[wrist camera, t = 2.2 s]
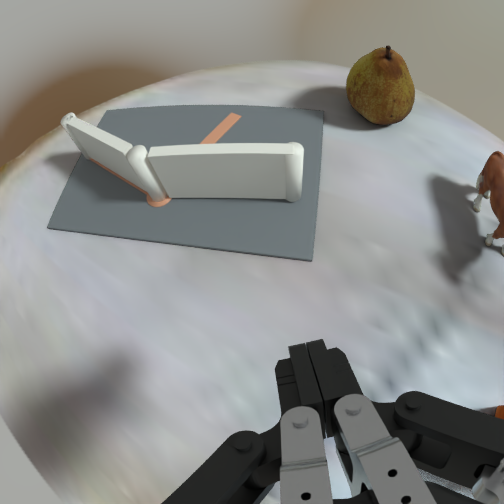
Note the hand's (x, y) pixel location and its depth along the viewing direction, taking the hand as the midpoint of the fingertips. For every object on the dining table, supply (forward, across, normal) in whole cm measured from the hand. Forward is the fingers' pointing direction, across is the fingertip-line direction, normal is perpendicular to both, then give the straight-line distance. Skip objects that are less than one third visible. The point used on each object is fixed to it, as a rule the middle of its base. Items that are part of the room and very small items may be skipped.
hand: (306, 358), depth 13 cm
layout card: (+28, +8, -8) cm, 30 cm away
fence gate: (+23, +3, -4) cm, 23 cm away
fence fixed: (+28, +16, -9) cm, 33 cm away
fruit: (+30, -18, -10) cm, 37 cm away
